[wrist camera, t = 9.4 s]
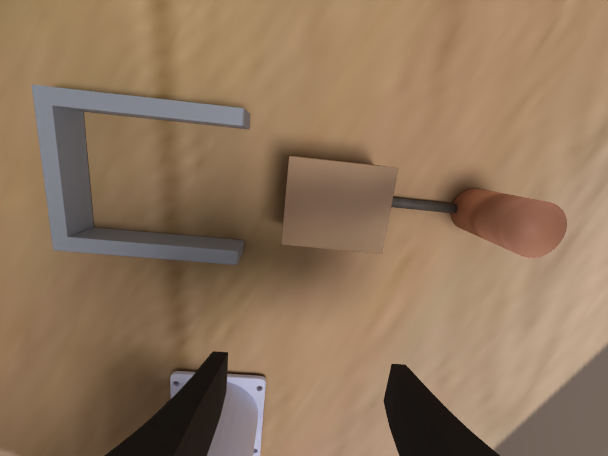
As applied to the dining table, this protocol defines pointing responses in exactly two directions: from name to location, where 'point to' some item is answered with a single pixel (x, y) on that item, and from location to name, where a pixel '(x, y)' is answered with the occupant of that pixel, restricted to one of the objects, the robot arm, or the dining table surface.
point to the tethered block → (379, 199)
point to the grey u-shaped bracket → (76, 184)
